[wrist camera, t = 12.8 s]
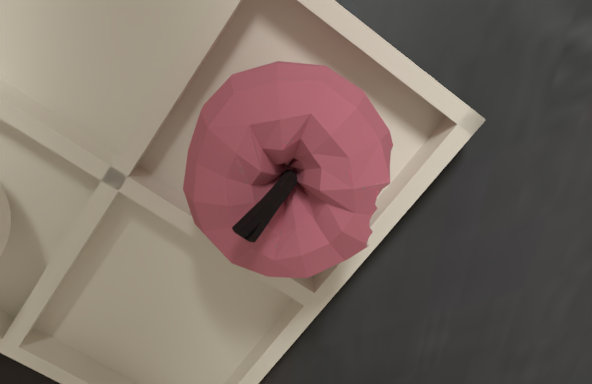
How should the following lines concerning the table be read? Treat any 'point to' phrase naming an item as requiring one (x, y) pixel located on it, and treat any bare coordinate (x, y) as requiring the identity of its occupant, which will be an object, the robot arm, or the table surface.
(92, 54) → the tray
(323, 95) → the apple
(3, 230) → the white ball
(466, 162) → the table surface
